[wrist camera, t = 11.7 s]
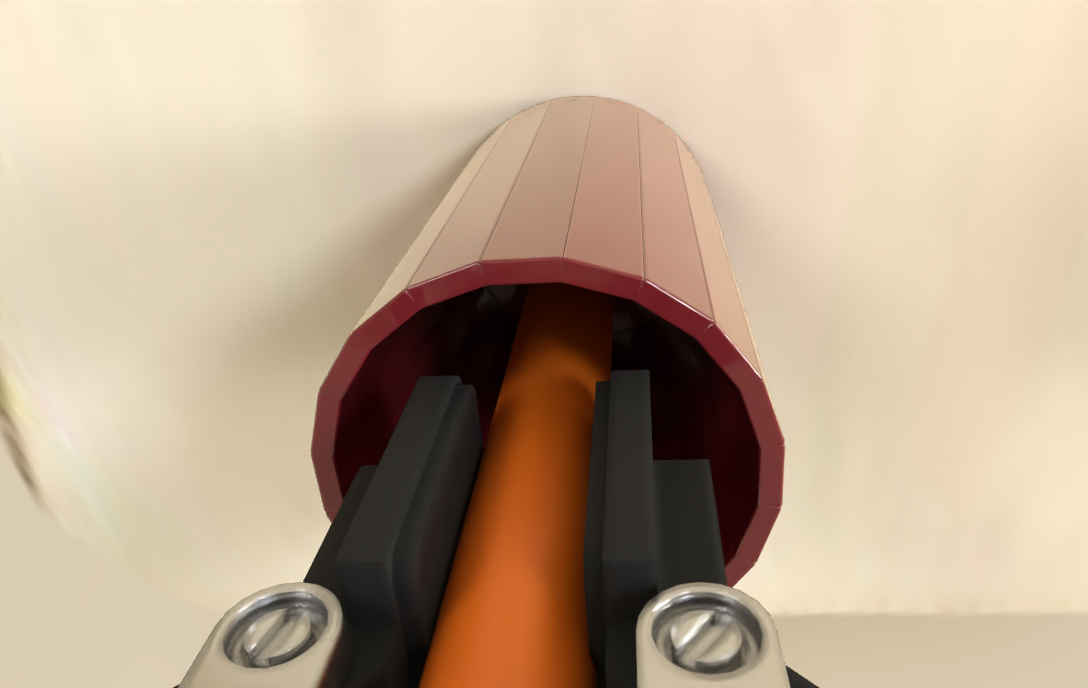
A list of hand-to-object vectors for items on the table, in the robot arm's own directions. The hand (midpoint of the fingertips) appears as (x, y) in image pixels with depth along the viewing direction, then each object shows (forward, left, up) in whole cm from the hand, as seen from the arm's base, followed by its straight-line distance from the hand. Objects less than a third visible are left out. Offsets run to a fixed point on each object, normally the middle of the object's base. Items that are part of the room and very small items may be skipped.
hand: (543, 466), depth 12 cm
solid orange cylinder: (0, 0, -7) cm, 7 cm away
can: (0, 0, -11) cm, 11 cm away
